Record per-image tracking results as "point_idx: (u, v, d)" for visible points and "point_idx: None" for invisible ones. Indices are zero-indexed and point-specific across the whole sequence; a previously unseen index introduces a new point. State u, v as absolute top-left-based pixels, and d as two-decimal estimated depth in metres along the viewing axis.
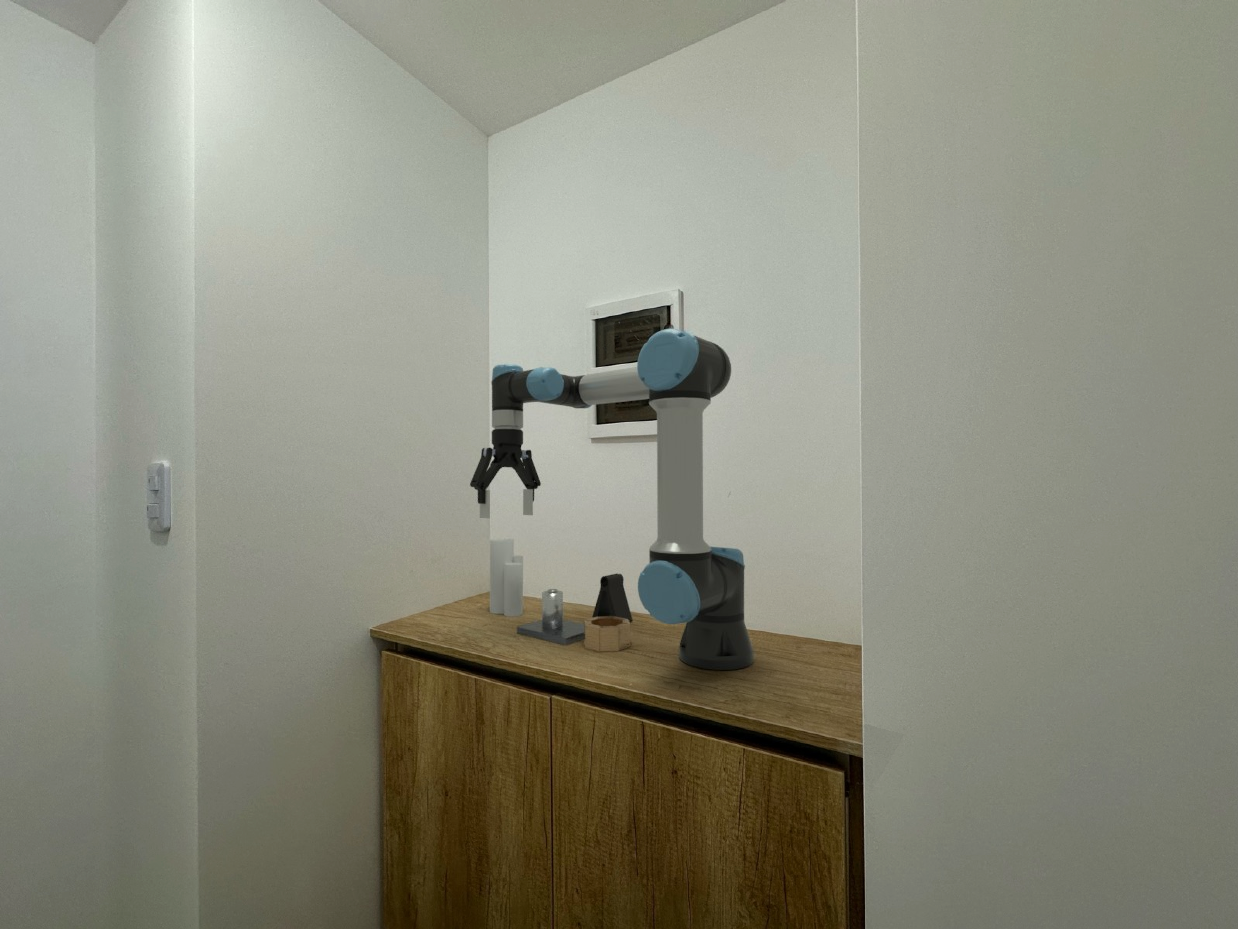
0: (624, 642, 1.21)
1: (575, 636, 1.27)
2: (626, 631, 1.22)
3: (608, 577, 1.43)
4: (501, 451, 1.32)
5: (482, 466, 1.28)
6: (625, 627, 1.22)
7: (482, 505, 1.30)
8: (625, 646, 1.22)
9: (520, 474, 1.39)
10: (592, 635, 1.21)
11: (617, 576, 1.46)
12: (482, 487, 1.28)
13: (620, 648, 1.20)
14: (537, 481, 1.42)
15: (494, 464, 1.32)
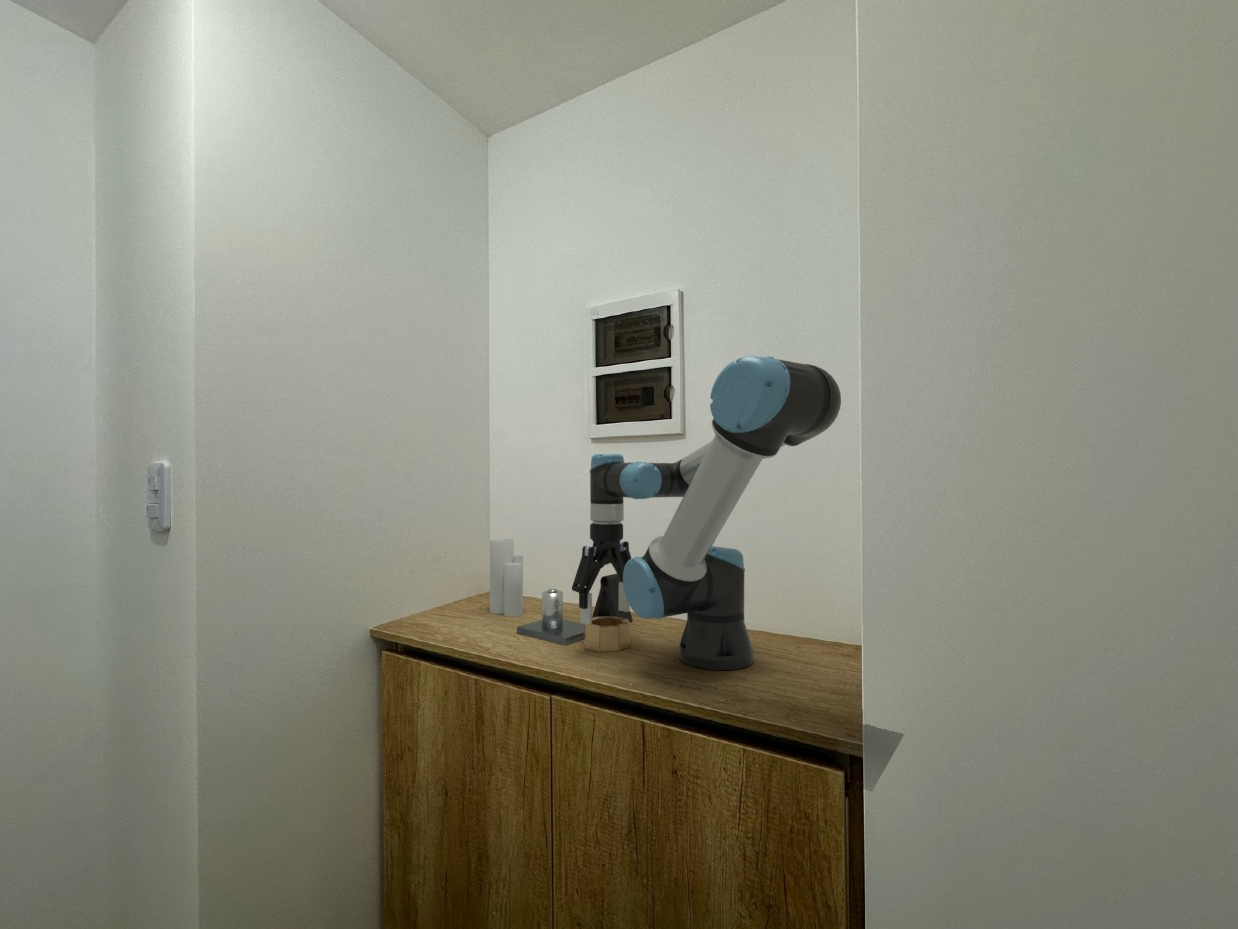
0: (624, 642, 1.21)
1: (575, 636, 1.27)
2: (626, 631, 1.22)
3: (608, 577, 1.43)
4: (602, 548, 1.22)
5: (585, 568, 1.18)
6: (625, 627, 1.22)
7: (583, 609, 1.20)
8: (625, 646, 1.22)
9: (618, 569, 1.29)
10: (592, 635, 1.21)
11: (617, 576, 1.46)
12: (585, 591, 1.18)
13: (620, 648, 1.20)
14: None
15: (594, 563, 1.22)
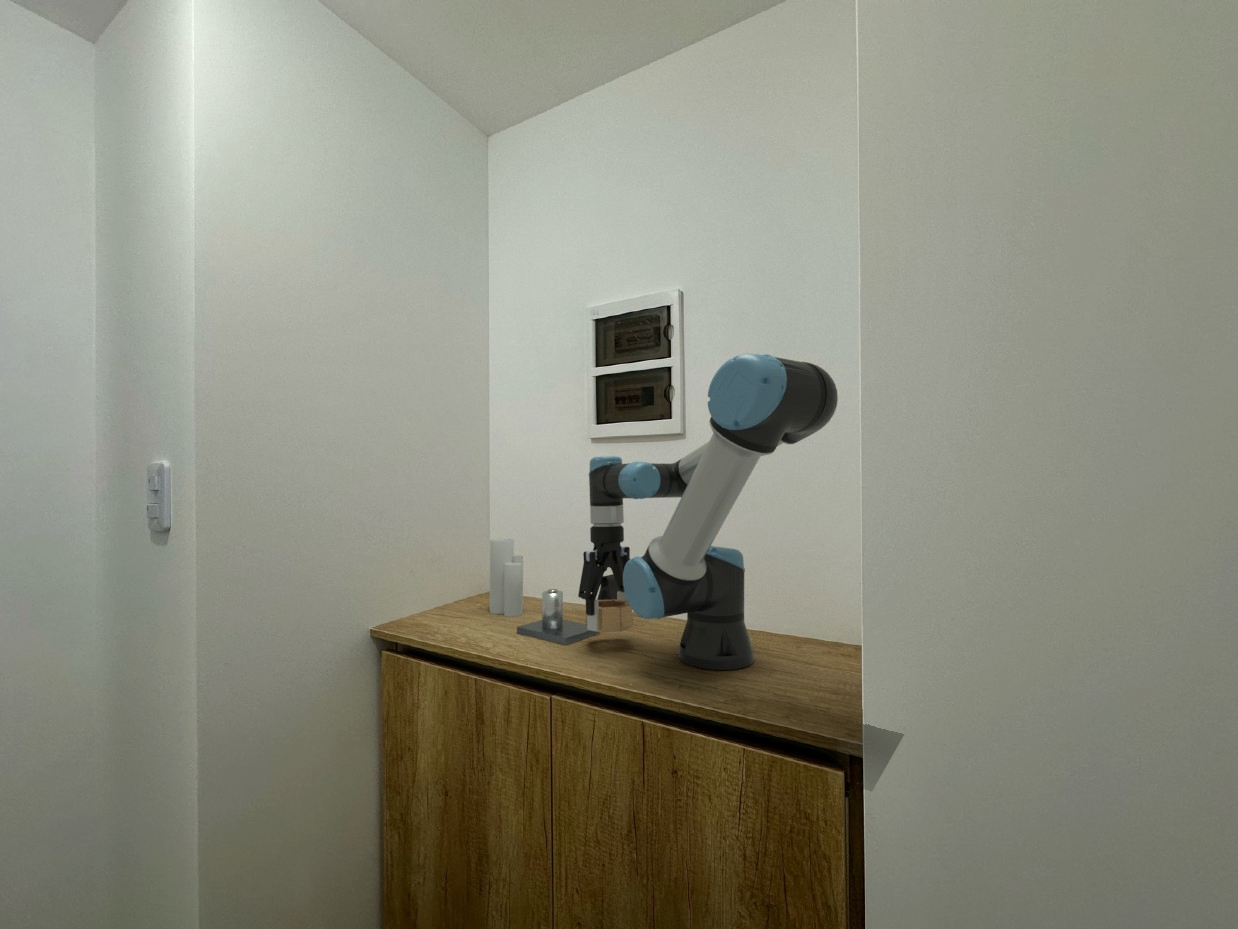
0: (626, 623, 1.21)
1: (575, 636, 1.27)
2: (628, 612, 1.22)
3: (608, 577, 1.43)
4: (603, 551, 1.22)
5: (588, 574, 1.18)
6: (627, 608, 1.21)
7: (590, 616, 1.20)
8: (627, 627, 1.21)
9: (617, 575, 1.27)
10: None
11: None
12: (591, 598, 1.18)
13: (622, 629, 1.20)
14: None
15: (597, 567, 1.22)
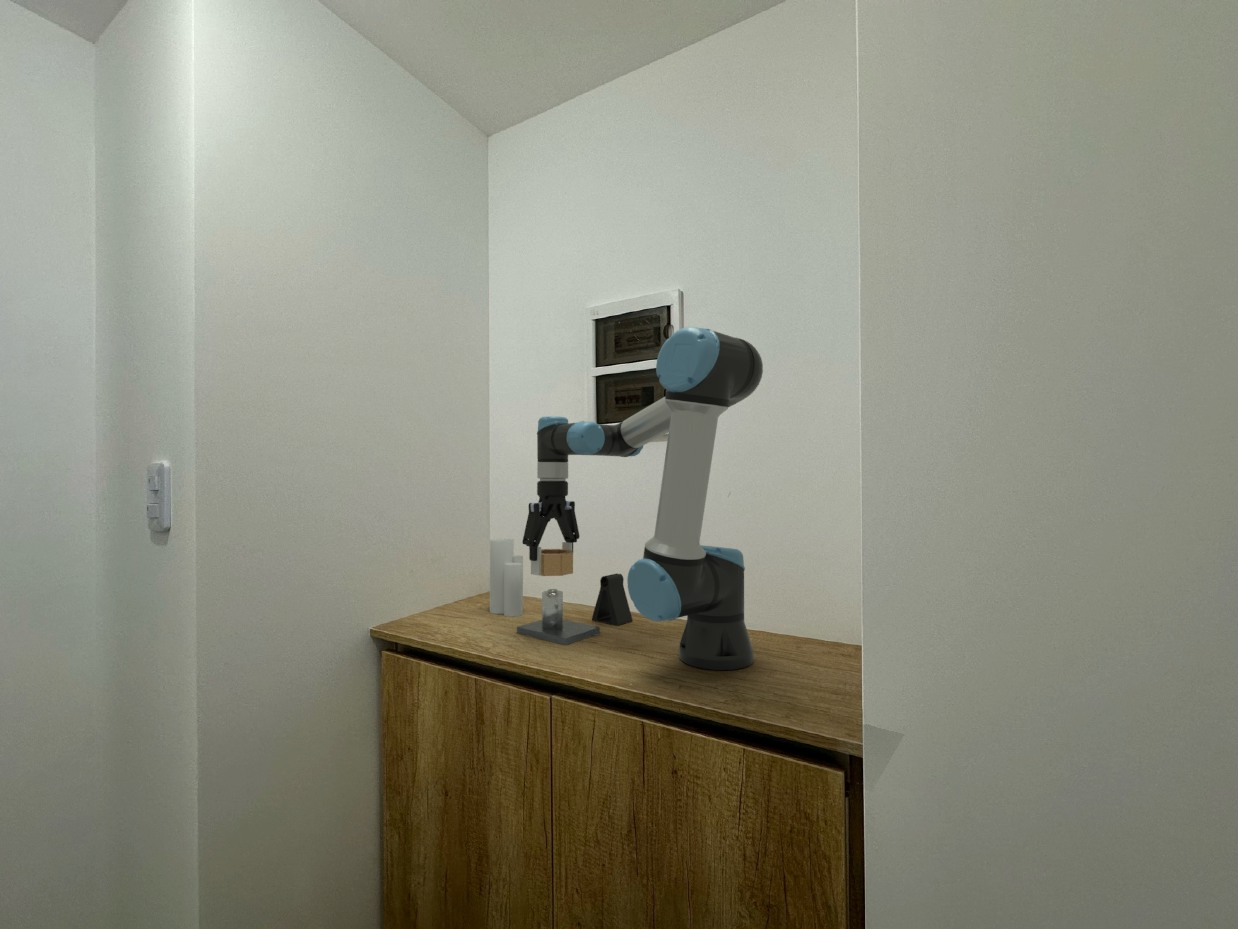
0: (566, 569, 1.32)
1: (575, 636, 1.27)
2: (569, 559, 1.33)
3: (608, 577, 1.43)
4: (547, 503, 1.33)
5: (532, 523, 1.29)
6: (568, 555, 1.33)
7: (533, 562, 1.31)
8: (567, 572, 1.33)
9: (562, 526, 1.39)
10: None
11: (617, 576, 1.46)
12: (534, 545, 1.30)
13: (562, 573, 1.31)
14: (576, 534, 1.41)
15: (542, 518, 1.33)
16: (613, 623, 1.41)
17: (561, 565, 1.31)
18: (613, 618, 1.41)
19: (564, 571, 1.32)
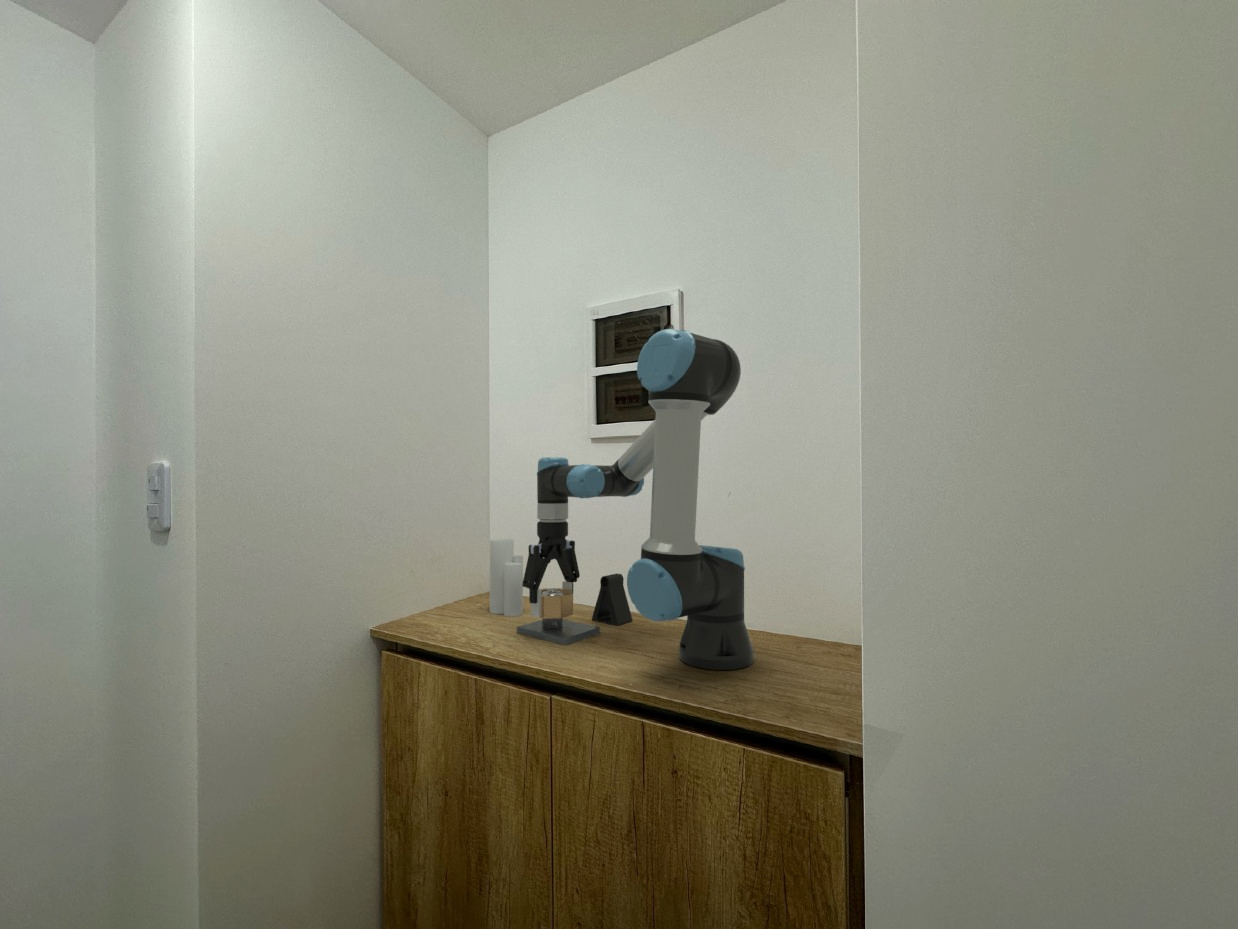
0: (566, 610, 1.32)
1: (575, 636, 1.27)
2: (569, 601, 1.33)
3: (608, 577, 1.43)
4: (547, 544, 1.33)
5: (532, 566, 1.29)
6: (568, 597, 1.32)
7: (533, 604, 1.31)
8: (567, 614, 1.32)
9: (562, 566, 1.38)
10: None
11: (617, 576, 1.46)
12: (534, 588, 1.29)
13: (562, 616, 1.31)
14: (576, 573, 1.41)
15: (542, 559, 1.33)
16: (613, 623, 1.41)
17: (561, 607, 1.31)
18: (613, 618, 1.41)
19: (564, 613, 1.31)
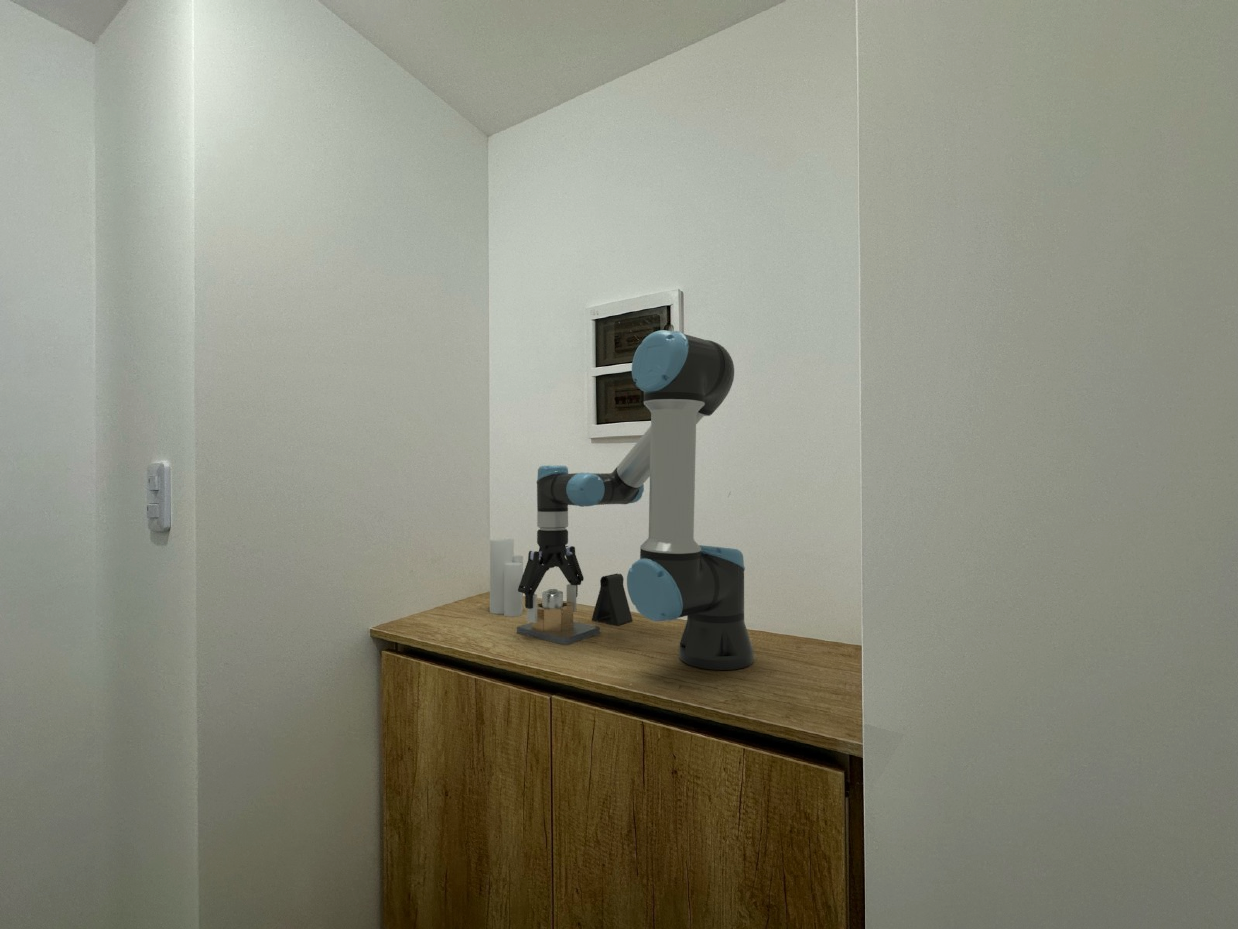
0: (567, 623, 1.32)
1: (575, 636, 1.27)
2: (569, 613, 1.32)
3: (608, 577, 1.43)
4: (547, 553, 1.33)
5: (530, 571, 1.28)
6: (568, 609, 1.32)
7: (529, 609, 1.30)
8: (568, 627, 1.32)
9: (564, 572, 1.39)
10: (537, 616, 1.31)
11: (617, 576, 1.46)
12: (530, 592, 1.28)
13: (563, 628, 1.31)
14: (580, 576, 1.42)
15: (540, 566, 1.32)
16: (613, 623, 1.41)
17: (561, 620, 1.30)
18: (613, 618, 1.41)
19: (564, 626, 1.31)
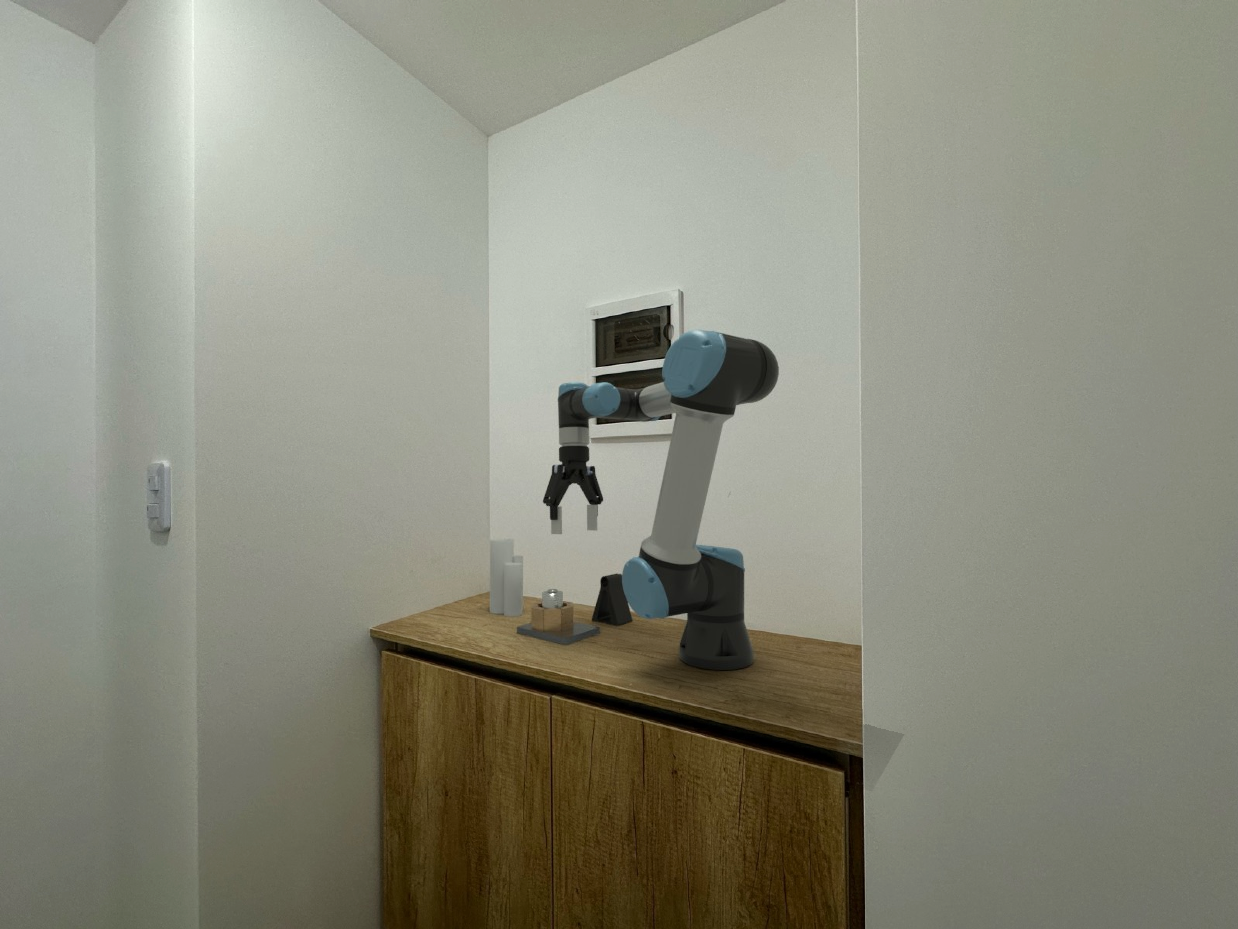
0: (567, 623, 1.32)
1: (575, 636, 1.27)
2: (569, 613, 1.32)
3: (608, 577, 1.43)
4: (570, 468, 1.34)
5: (554, 483, 1.30)
6: (568, 609, 1.32)
7: (554, 521, 1.31)
8: (568, 627, 1.32)
9: (585, 490, 1.41)
10: (537, 616, 1.31)
11: (617, 576, 1.46)
12: (555, 503, 1.30)
13: (563, 628, 1.31)
14: (600, 497, 1.44)
15: (563, 481, 1.34)
16: (613, 623, 1.41)
17: (561, 620, 1.30)
18: (613, 618, 1.41)
19: (564, 626, 1.31)
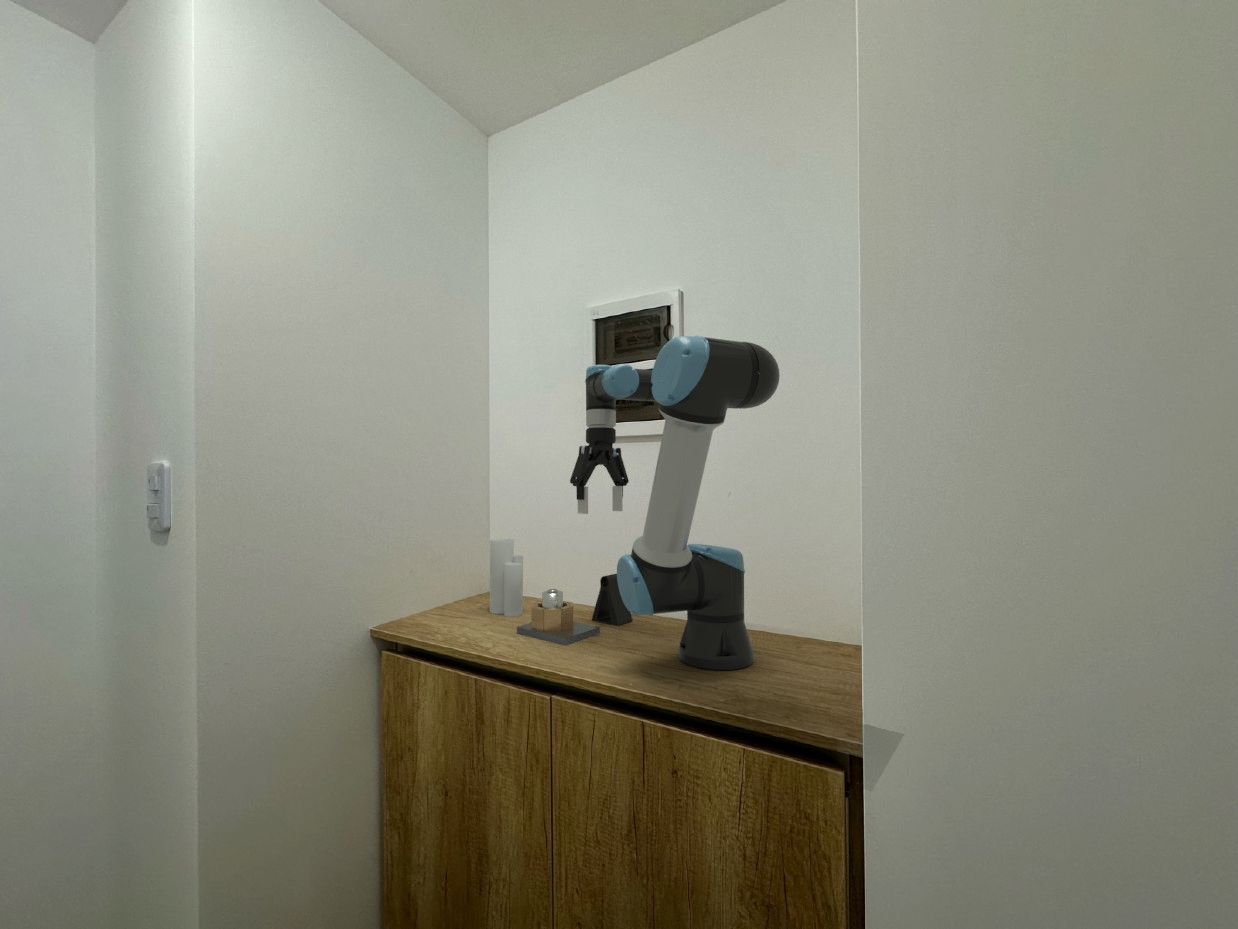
0: (567, 623, 1.32)
1: (575, 636, 1.27)
2: (569, 613, 1.32)
3: (608, 577, 1.43)
4: (597, 449, 1.37)
5: (581, 463, 1.33)
6: (568, 609, 1.32)
7: (580, 501, 1.34)
8: (568, 627, 1.32)
9: (611, 472, 1.43)
10: (537, 616, 1.31)
11: None
12: (581, 484, 1.32)
13: (563, 628, 1.31)
14: (626, 478, 1.46)
15: (590, 461, 1.37)
16: (613, 623, 1.41)
17: (561, 620, 1.30)
18: (613, 618, 1.41)
19: (564, 626, 1.31)
